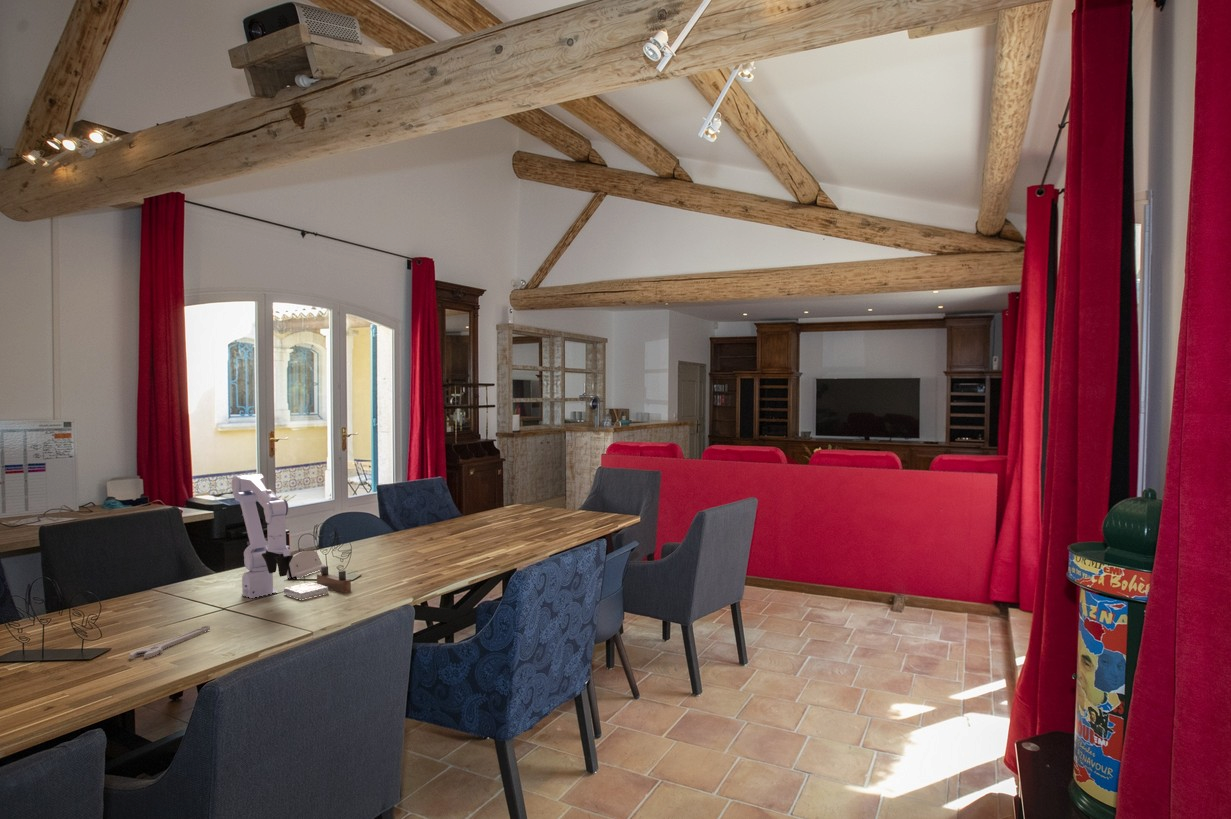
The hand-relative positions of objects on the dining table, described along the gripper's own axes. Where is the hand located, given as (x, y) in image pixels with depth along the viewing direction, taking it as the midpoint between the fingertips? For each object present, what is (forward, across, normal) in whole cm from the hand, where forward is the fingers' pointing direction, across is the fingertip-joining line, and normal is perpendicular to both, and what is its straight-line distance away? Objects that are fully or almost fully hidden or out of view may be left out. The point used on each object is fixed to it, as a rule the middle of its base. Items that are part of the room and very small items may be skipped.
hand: (277, 574), depth 243 cm
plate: (+10, 0, -10) cm, 14 cm away
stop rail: (+9, 0, -20) cm, 23 cm away
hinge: (+10, +30, -25) cm, 40 cm away
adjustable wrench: (+10, -18, +39) cm, 44 cm away
